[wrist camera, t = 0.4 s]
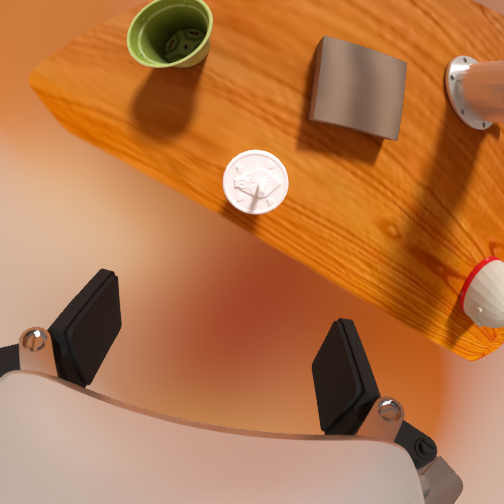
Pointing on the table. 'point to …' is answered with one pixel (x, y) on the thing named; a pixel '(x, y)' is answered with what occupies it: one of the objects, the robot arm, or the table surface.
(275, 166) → the smoothie
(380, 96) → the plinth
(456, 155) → the table surface
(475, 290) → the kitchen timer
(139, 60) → the plant pot
